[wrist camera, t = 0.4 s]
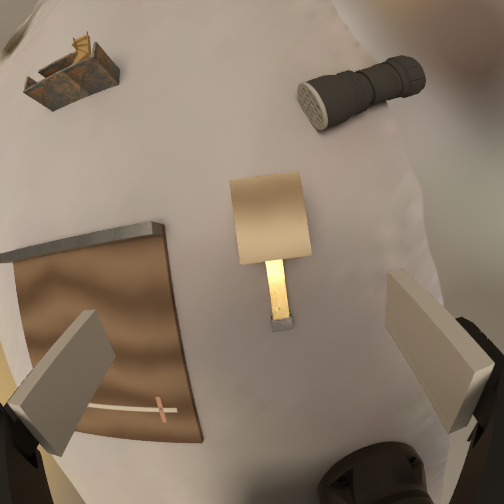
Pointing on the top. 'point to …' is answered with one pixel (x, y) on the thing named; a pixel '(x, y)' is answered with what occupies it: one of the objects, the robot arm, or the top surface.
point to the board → (114, 326)
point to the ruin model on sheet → (74, 76)
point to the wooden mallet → (271, 231)
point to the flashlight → (359, 90)
